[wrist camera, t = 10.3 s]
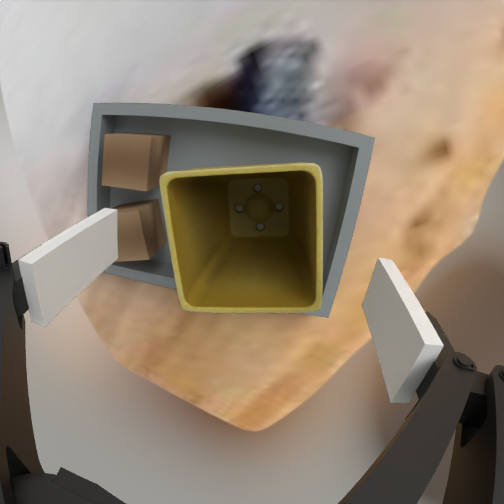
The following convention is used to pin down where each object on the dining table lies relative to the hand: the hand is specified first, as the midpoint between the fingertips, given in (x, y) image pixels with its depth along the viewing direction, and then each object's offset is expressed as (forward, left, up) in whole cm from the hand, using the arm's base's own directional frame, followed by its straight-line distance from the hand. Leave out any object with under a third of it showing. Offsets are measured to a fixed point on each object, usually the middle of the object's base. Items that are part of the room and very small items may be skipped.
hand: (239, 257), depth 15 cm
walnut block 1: (-3, -10, -11) cm, 15 cm away
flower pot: (0, 0, -12) cm, 12 cm away
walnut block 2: (+3, -10, -11) cm, 16 cm away
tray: (0, -4, -12) cm, 13 cm away
